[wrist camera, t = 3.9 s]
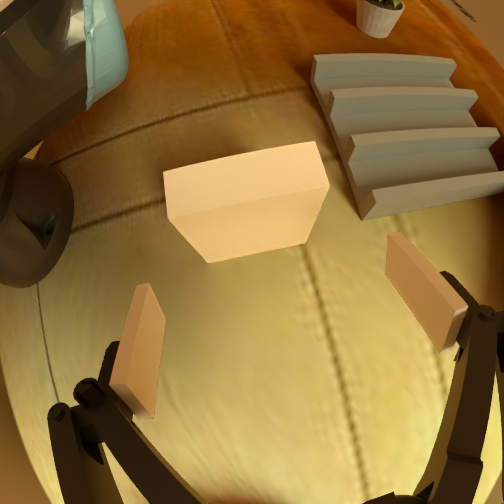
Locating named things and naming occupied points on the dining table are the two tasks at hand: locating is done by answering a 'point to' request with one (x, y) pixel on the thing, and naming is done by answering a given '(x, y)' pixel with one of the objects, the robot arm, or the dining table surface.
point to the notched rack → (404, 131)
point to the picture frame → (247, 200)
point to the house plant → (378, 16)
